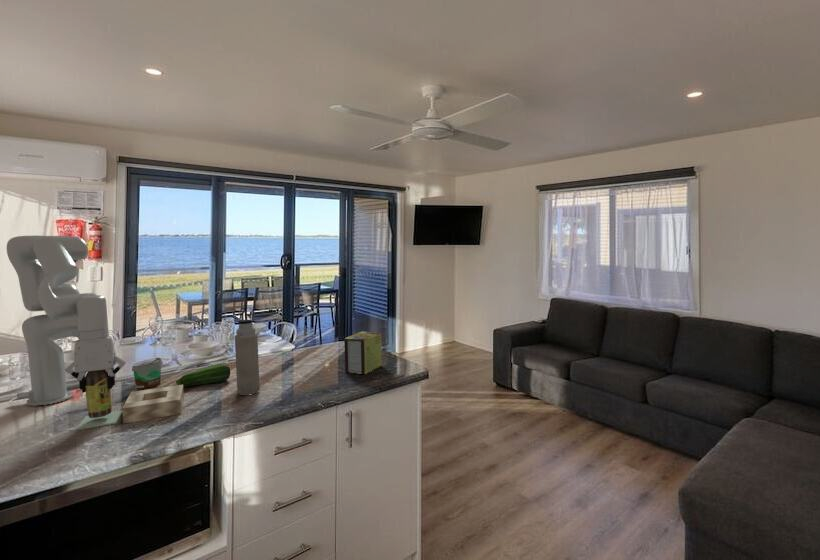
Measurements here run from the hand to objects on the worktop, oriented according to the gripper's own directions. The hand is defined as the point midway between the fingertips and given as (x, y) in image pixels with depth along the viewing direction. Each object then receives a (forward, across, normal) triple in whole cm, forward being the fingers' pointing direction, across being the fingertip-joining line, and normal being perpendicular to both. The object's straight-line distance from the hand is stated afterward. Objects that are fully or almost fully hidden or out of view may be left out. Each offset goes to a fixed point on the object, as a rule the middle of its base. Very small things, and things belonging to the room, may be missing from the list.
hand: (98, 388), depth 130 cm
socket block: (+10, +15, +2) cm, 18 cm away
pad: (+10, 0, 0) cm, 10 cm away
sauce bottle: (+9, 0, 0) cm, 9 cm away
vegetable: (+11, +30, +23) cm, 39 cm away
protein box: (+11, +94, +12) cm, 95 cm away
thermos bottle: (+11, +45, +5) cm, 47 cm away
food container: (+11, +11, +30) cm, 34 cm away
